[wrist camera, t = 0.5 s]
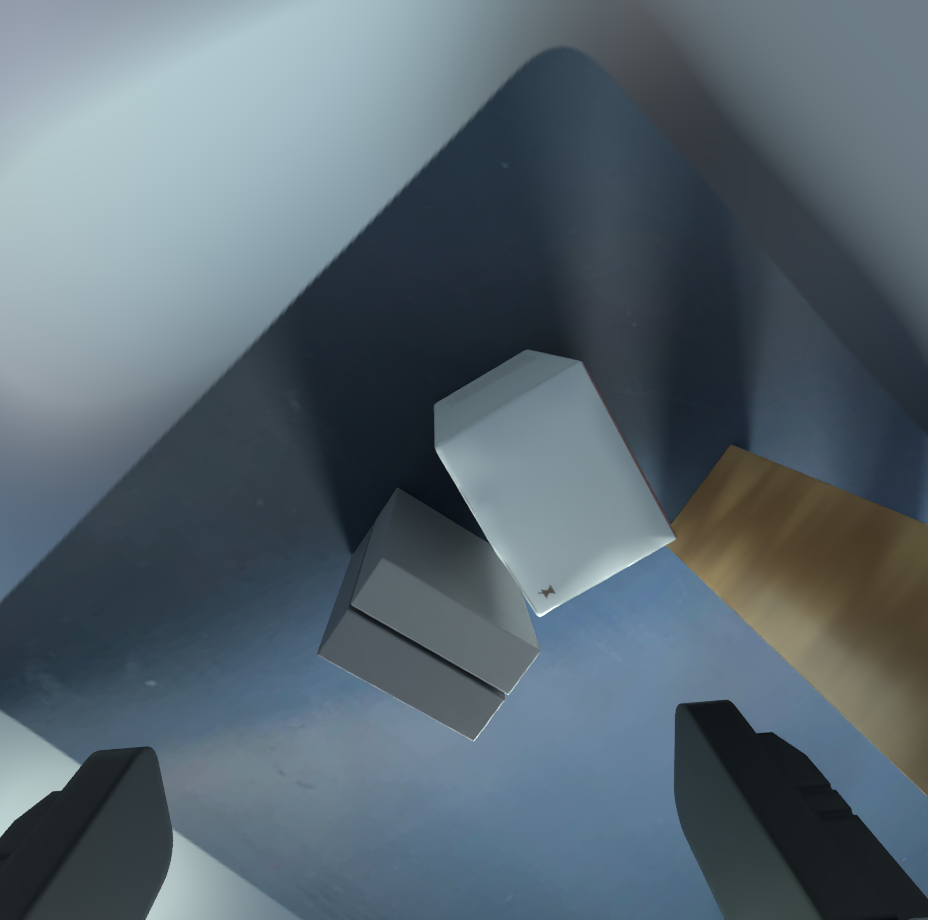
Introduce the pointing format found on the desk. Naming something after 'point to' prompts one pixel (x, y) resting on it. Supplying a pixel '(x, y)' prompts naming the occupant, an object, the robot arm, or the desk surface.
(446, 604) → the grey books
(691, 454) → the desk surface
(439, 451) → the small box
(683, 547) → the shelf stand
